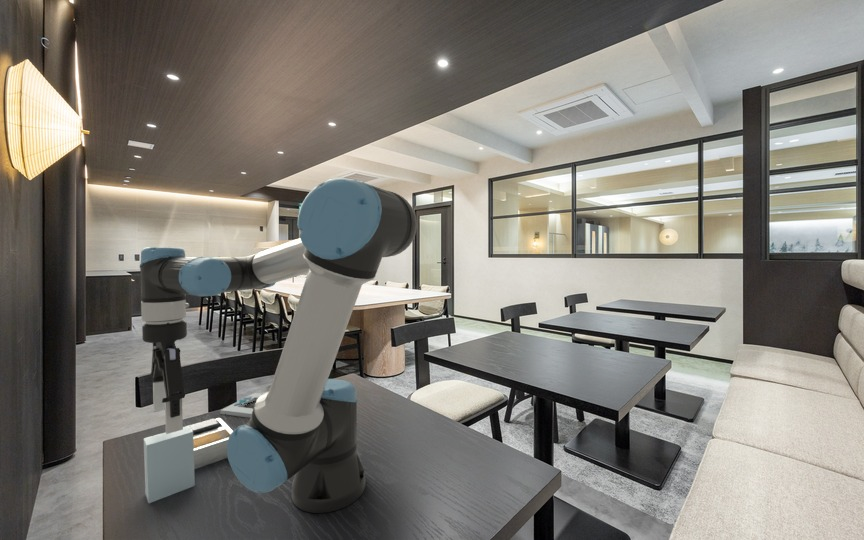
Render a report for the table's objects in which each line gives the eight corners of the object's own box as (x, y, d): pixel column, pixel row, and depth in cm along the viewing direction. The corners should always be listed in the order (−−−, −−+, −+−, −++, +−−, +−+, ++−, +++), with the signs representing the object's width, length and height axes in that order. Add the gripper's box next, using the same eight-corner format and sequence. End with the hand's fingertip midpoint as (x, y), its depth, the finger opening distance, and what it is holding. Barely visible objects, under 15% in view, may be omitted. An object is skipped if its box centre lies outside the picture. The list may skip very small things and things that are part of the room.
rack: (238, 453, 92) (237, 432, 92) (181, 473, 84) (181, 450, 83) (220, 433, 103) (219, 414, 103) (168, 449, 94) (167, 428, 94)
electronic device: (220, 408, 115) (254, 391, 130) (220, 415, 116) (254, 397, 130) (270, 414, 111) (299, 396, 125) (270, 422, 111) (299, 402, 125)
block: (194, 485, 79) (193, 431, 79) (148, 503, 74) (146, 445, 73) (190, 477, 82) (188, 425, 82) (145, 494, 77) (143, 438, 76)
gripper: (201, 327, 70) (203, 434, 71) (173, 311, 88) (175, 398, 89) (153, 332, 65) (156, 449, 66) (133, 315, 83) (136, 407, 84)
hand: (167, 420), depth 78 cm, fingers open, 13 cm apart
